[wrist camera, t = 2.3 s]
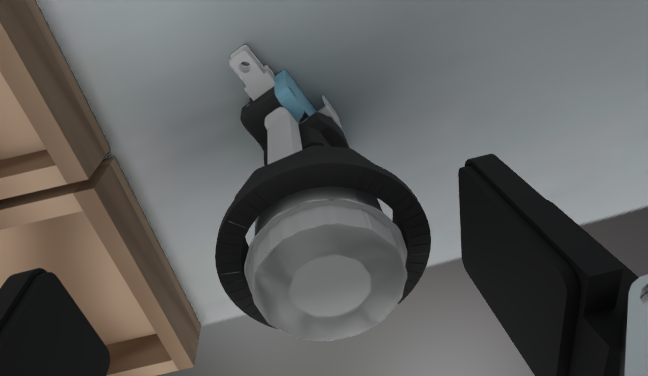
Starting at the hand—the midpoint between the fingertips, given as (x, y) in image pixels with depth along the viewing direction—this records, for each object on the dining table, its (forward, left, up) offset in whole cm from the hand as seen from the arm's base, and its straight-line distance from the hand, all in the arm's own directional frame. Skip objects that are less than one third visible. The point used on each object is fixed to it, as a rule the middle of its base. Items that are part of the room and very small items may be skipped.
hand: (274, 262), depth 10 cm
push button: (-1, 0, -10) cm, 10 cm away
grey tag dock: (+13, +5, -9) cm, 17 cm away
